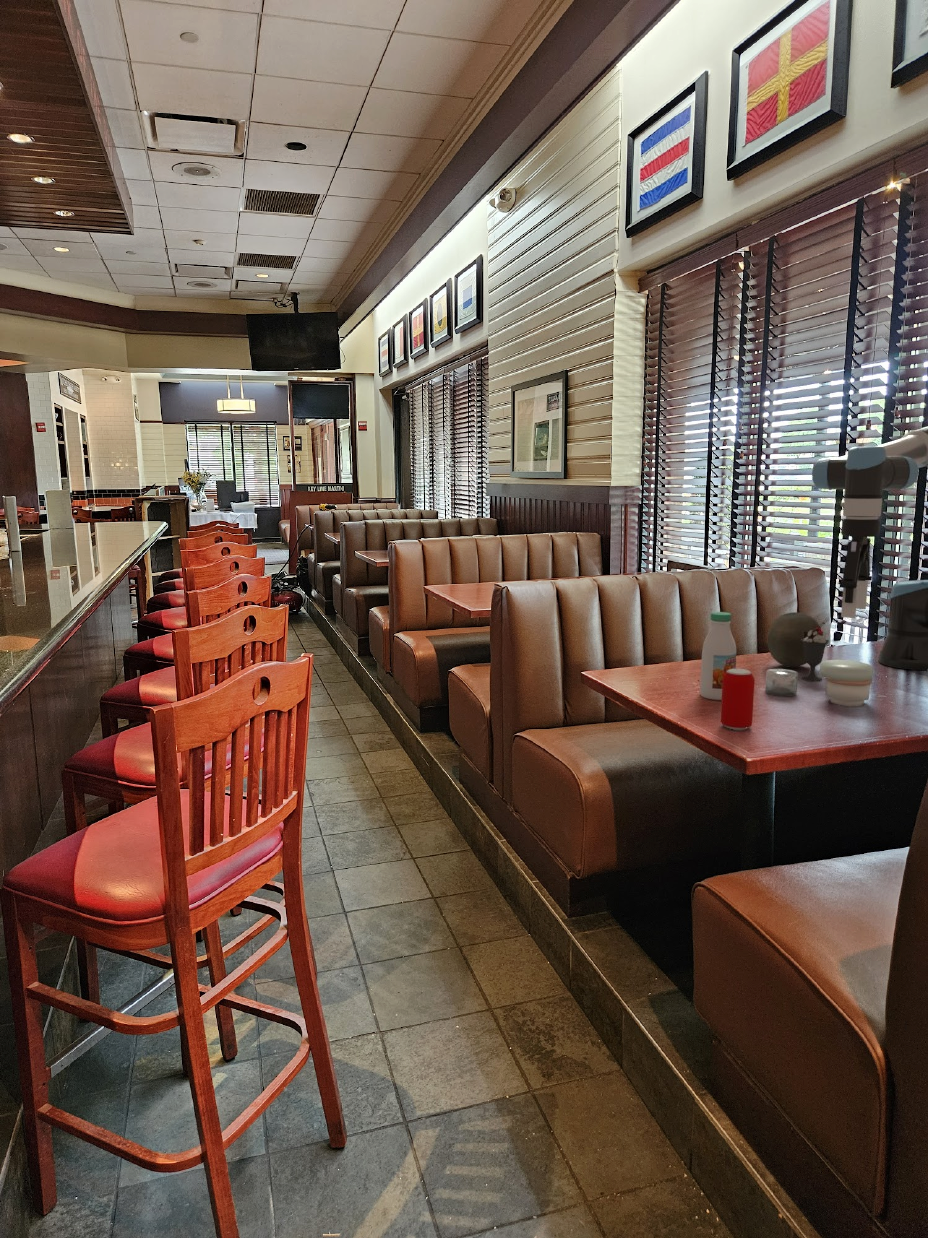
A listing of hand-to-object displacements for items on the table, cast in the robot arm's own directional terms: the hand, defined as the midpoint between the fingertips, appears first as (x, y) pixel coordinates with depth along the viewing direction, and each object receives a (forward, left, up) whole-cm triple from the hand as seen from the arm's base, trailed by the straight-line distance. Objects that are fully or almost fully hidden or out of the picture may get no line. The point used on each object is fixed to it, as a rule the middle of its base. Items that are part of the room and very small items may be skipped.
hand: (853, 613), depth 181 cm
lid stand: (+10, -11, -21) cm, 25 cm away
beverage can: (+35, +10, -21) cm, 42 cm away
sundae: (-6, -20, -21) cm, 30 cm away
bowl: (0, 0, -21) cm, 21 cm away
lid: (0, -1, -15) cm, 15 cm away
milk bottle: (+26, -12, -21) cm, 35 cm away
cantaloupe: (-9, -32, -21) cm, 39 cm away
